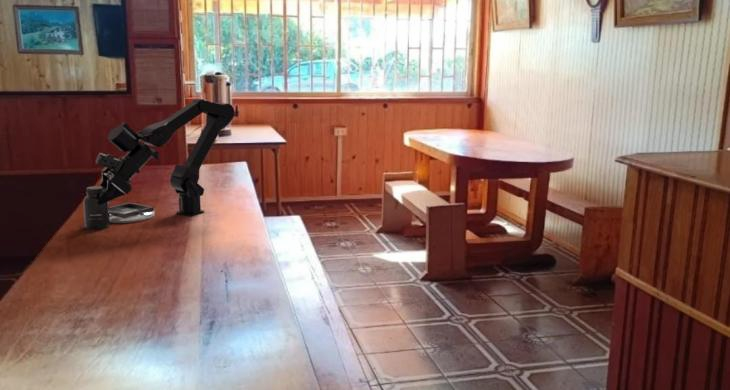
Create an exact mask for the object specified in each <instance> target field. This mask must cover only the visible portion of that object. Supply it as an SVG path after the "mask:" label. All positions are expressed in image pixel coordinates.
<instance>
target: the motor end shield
mask: <svg viewBox="0 0 730 390" xmlns="http://www.w3.org/2000/svg"><path fill="white" fill-rule="evenodd" d="M153 217H155V208H154V206H151V205H150V206H149V205H145V204H140V203H136V202H135V203H134V202H125V203H122V204H119V205H118V204H117V205H113V206H109V218H110V224H111V223H113V224H129V223H130V224H131V223H137V222H143V221H147V220H149V219H152V218H153Z"/></svg>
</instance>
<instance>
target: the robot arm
mask: <svg viewBox="0 0 730 390" xmlns="http://www.w3.org/2000/svg"><path fill="white" fill-rule="evenodd" d="M201 114H205V115H206V121H205V122H206V123H205V126H204V127H203V130H202V131H201V133H200V135H199V137H198V138H197V140H196V142H195V144H194V146H193V148H192V150H191V151H190V153H189V155H188V157H187V159H186V161H185V162H184V163H182V164H178V163H177V164H176V165H175V166H174V169H173V171H172V172H171V173H170V174H169V175H170V179H169V182H170V185H171V188H173V189H174V191H175V193H176V194H178V195H179V196H178V197H179V198H178V209H179V211H178V210H177V211H175V212H176V214H177V215H183V216H187V217H192V216H195V215H199V214H203V213H205V210H202V209H201V196H203V195H204V192H205V188H204V187H203V186H202V185H200V184H199V180H200V168H201V167H202V165H203V163H204V161H205V159H206V157H207V156H208V154H209V152H210V150H211V149H212V147H213V144H214V143H215V141H216V140H217V138H218V136H219V134H220V132H221V131H222V130H223V129H224V128H226V127H227V126H228V125H230V124H231V121H232V120H233V119H234V118H235V115H236V112H235V108H234V106H232V104H230V103H225V102H212V101H209V100H206V99H204V98H195V99H193V100H192V101H191V102H189V103H188V104H187V105H185V106H184V107H182V108H181V109H179V110H178V111H177V112H175V113H173V114H172V115H170V116H169V117H167V118H166V119H164V120H162V121H159V122H158V121H157V122H154V123H152V124H150V125H148V126H145V127H144V128H143V129H142V130H140V131H135V130H133V129H132V128H131V127H130V126H129V125H128V124H127V123H125V122H121V123H120V125H118V126H116V127H115V128H113V129H112V130H110V132H109V133H108V135H107V140H108V141H109V142H110V143H111V144H112V145H114V146H115V147H117V148H118V150H120V151H121V152H122V153H126V152H127V153H126V154H125V155H124V156H123V155H122V156H120V157H119V158H115V156H114V155H111V154H109V153H106V154H105V153H102V152H98V155H97V156H96V159H95V161H94V162H95V164H96V165H98V166H99V167H100V166H101V167H104V168H103V169H102V170H101V172H100V173H101V182H100V183H99V185H98V186H102V187H104V193H103V194H102V196H101V197H100V199H99V200H98V202H97V203H98V204H99V205H101V204H104V203H106V202H108V201H109V202H110V201H112V200H115V199H117V198H120V197H122V196H125V195H128V194H129V193H130V192H131V191H132V190H133V189H132V184H131V179H133V177H134V176H135V175H136V174H140V172H141V168H143V166H145V164H147V162H149V160H150V159H151V158H153V159H154V160H156V161H159V158H160V157H159V151H158V149H152V148H151V147H150V146H152V147H157V148H161V147H163V146H165V144H167V143H168V142H169V141H170V140H171V139H172V138H173V136H174V134H175V133H176V131H178V130H179V129H181V128H183V127H184V126H185V125H187V124H188V123H190V122H191V121H193V120H194V119H195V118H197V117H198V116H200V115H201ZM140 142H143V144H141V143H140Z"/></svg>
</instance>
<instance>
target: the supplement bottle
mask: <svg viewBox="0 0 730 390" xmlns="http://www.w3.org/2000/svg"><path fill="white" fill-rule="evenodd" d="M85 190H86V193H85V194H86V196H84V197H83V198H84V199H83V201H82V202H83V203H82V204H83V217H84V226H85V229H87V230H91V231H95V230H96V231H98V230H103V229H104V230H105V229H108V228H109V227H110V225H111V223H110V218H109V207H110V205H109V202H110V201H108V202H106V203H104V204H101V205H99V204H98V203H97V202H98V200H99V199H100V197H101V196H102V194H103V193H104V187H102V186H99V185H96V186H95V185H94V186H88V187H86V189H85Z"/></svg>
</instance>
